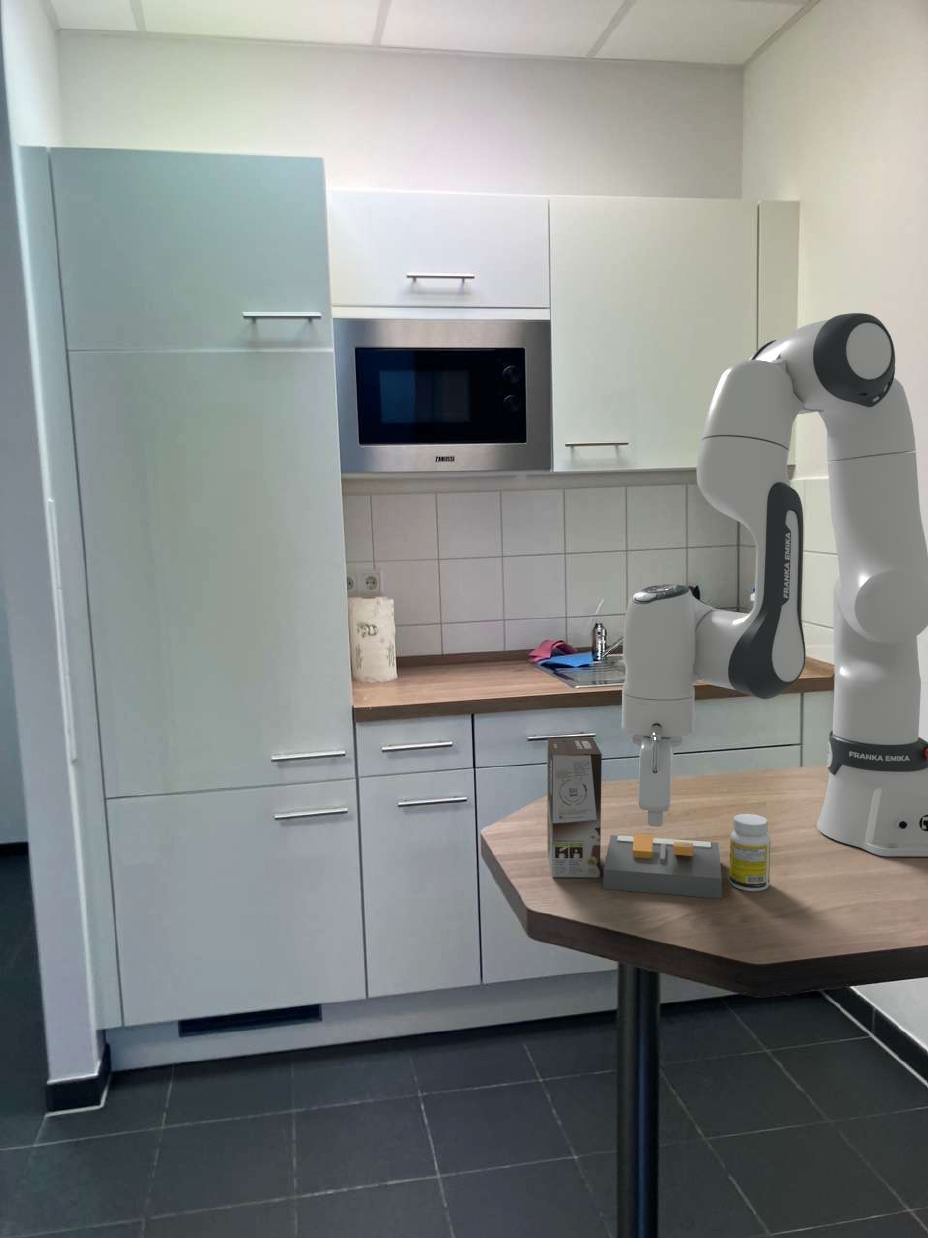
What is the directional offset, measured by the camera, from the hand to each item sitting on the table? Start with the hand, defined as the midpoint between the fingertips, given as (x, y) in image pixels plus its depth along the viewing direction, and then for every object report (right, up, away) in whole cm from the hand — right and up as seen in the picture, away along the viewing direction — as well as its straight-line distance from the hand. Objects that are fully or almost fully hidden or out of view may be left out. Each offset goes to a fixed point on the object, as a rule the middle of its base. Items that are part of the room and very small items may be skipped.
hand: (655, 822), depth 117 cm
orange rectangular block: (+3, -3, 0) cm, 5 cm away
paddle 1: (-1, -3, +1) cm, 4 cm away
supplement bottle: (+11, -7, -3) cm, 13 cm away
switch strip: (+1, -7, +1) cm, 7 cm away
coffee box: (-10, -7, +4) cm, 13 cm away
